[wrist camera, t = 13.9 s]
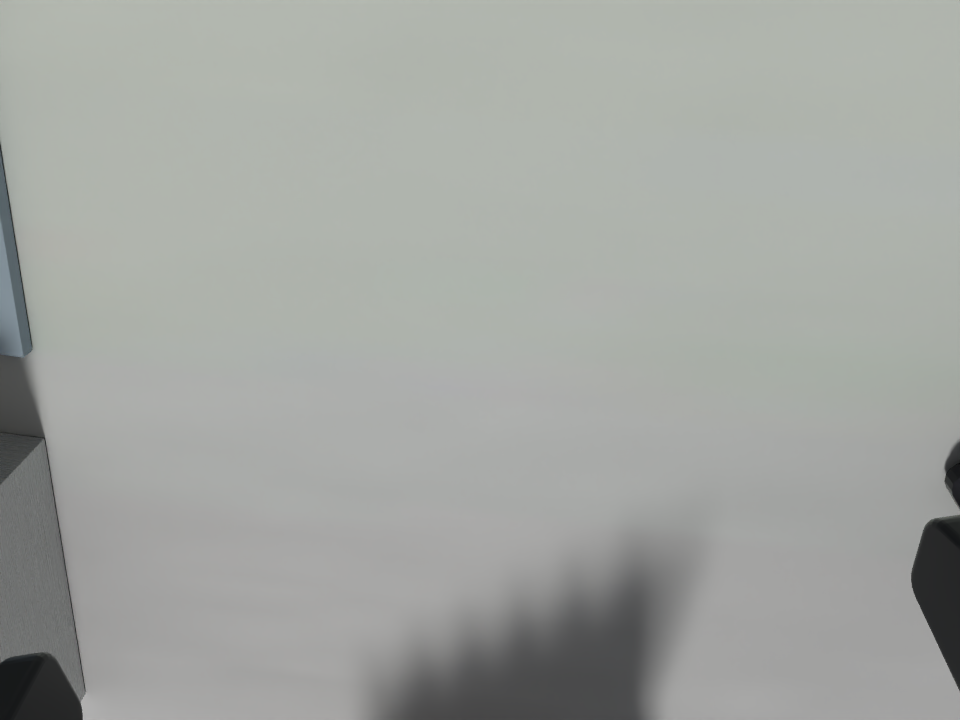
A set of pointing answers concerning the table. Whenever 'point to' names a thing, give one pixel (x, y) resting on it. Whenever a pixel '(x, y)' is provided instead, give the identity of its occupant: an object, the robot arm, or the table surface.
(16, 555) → the metal housing
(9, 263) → the rubber mat
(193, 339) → the table surface
